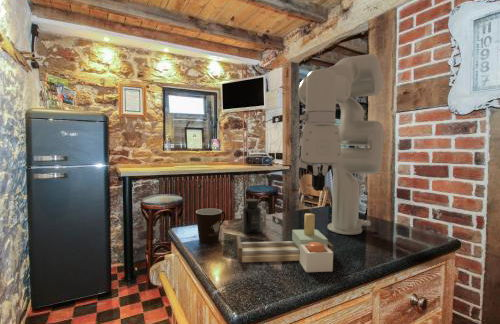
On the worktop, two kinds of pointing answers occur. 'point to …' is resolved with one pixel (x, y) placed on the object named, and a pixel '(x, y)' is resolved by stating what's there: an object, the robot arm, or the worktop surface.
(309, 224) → the block
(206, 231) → the coffee mug
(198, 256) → the worktop surface
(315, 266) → the white open box
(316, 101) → the robot arm
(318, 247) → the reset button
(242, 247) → the track
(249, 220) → the supplement bottle
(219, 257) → the worktop surface
